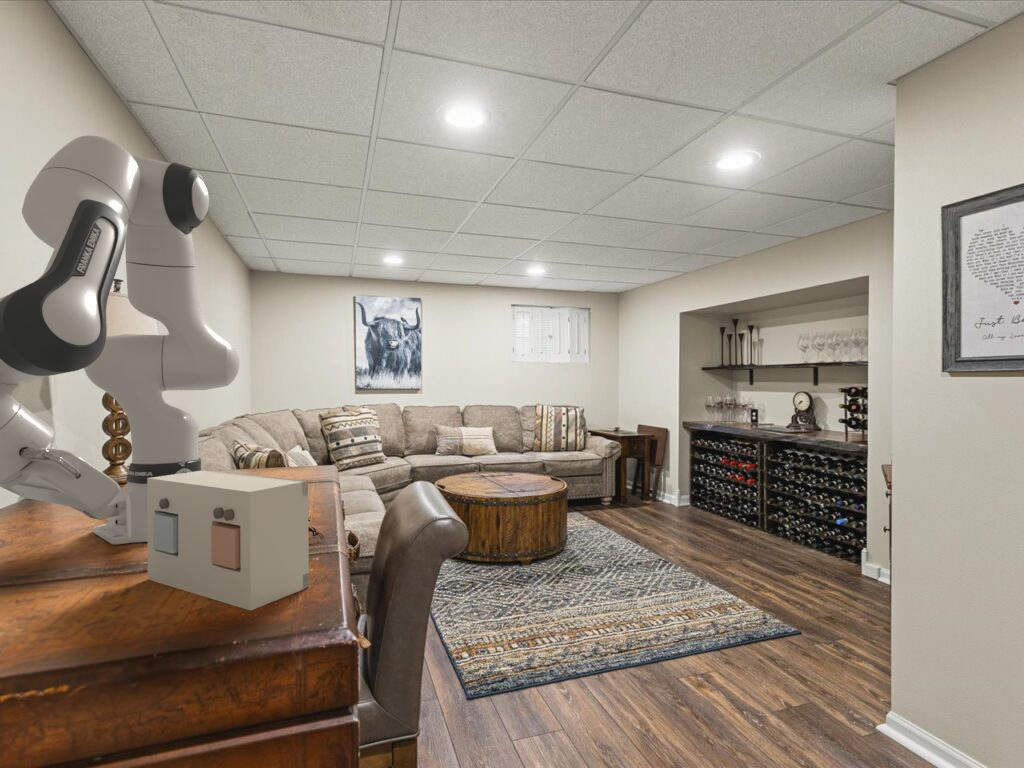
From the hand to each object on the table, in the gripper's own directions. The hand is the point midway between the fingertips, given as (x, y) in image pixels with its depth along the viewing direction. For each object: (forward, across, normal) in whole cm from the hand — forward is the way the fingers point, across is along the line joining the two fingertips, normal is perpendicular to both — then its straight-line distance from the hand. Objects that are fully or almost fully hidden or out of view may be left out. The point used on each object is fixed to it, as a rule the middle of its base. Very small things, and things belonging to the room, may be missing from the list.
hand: (103, 514), depth 70 cm
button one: (+13, 0, -3) cm, 13 cm away
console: (+17, -7, 0) cm, 18 cm away
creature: (+31, 0, -14) cm, 34 cm away
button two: (+13, -14, -3) cm, 19 cm away
